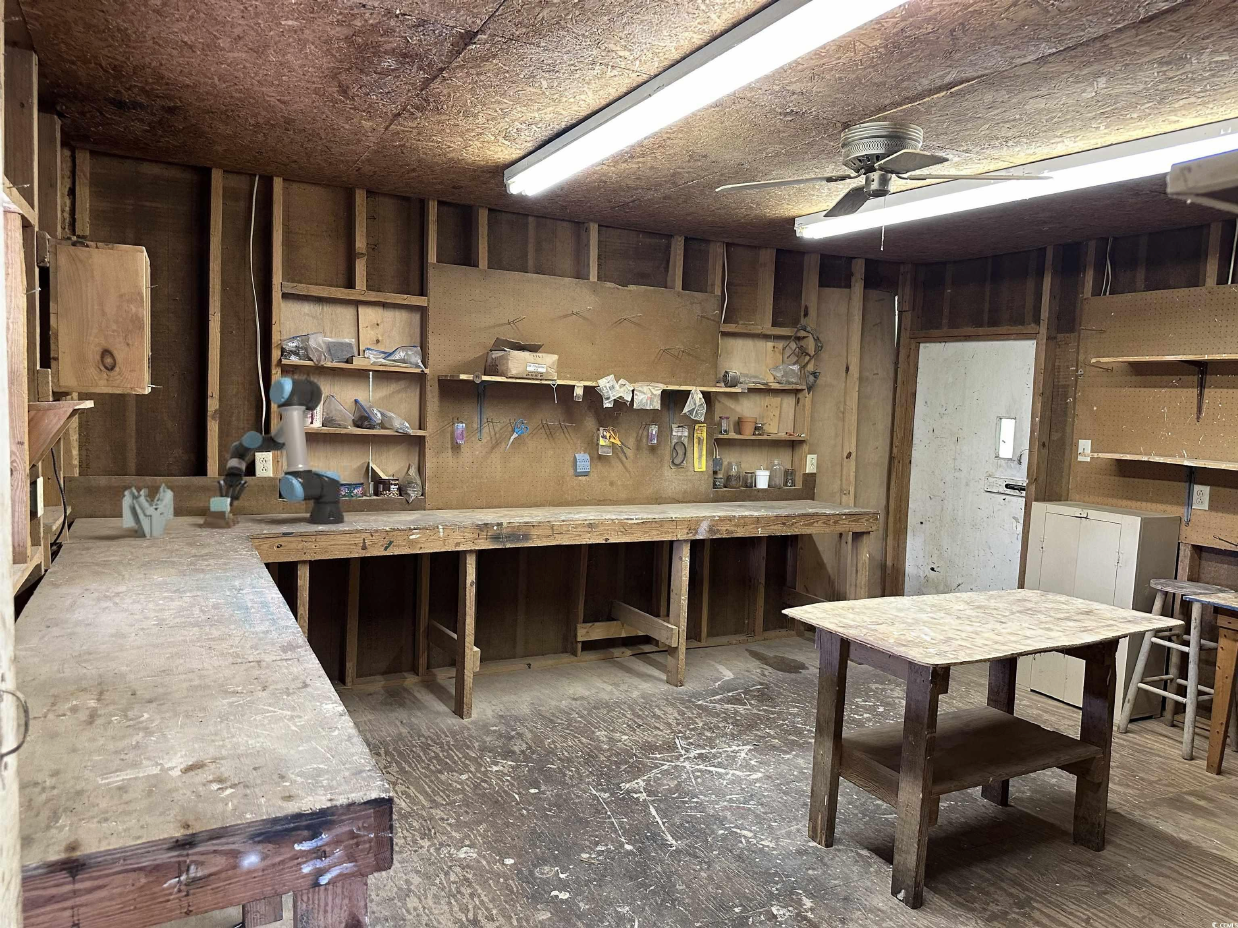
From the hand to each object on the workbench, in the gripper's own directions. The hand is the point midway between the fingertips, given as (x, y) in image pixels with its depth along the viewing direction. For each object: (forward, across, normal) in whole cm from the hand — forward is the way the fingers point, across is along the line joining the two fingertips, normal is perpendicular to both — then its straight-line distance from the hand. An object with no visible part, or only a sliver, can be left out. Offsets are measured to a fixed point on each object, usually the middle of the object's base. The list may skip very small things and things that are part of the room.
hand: (226, 511), depth 359 cm
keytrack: (+10, 0, +3) cm, 10 cm away
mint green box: (+11, 0, +5) cm, 12 cm away
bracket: (+29, +20, +21) cm, 41 cm away
